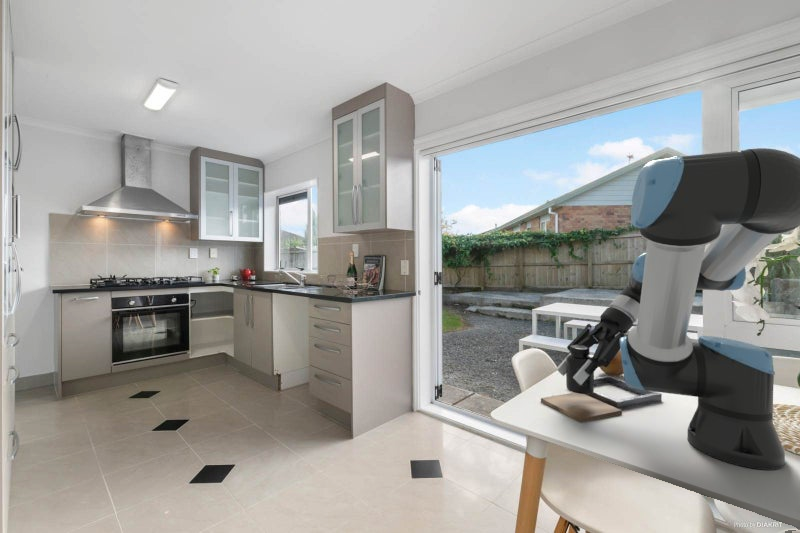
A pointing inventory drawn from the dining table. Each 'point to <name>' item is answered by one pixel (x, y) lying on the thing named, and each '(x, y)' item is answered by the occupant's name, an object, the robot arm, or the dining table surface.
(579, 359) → the supplement bottle
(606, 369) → the onion
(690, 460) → the dining table surface
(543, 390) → the dining table surface
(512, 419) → the dining table surface
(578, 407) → the walnut board
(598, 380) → the metal rim
